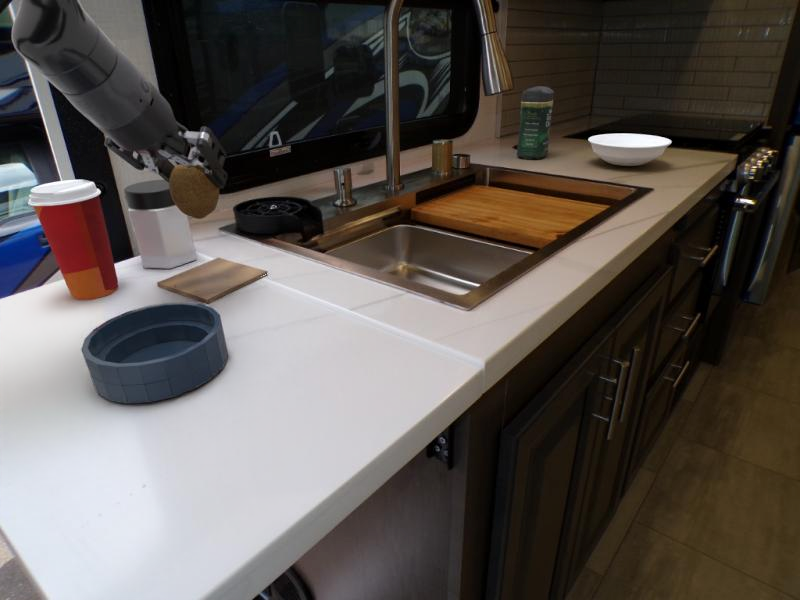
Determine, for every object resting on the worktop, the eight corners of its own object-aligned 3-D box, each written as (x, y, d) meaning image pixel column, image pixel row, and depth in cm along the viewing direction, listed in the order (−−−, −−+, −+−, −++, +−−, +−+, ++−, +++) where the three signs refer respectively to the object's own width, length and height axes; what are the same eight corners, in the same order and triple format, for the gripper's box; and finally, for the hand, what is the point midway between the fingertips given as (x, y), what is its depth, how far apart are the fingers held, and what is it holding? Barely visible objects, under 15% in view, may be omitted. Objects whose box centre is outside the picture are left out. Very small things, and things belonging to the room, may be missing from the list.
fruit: (166, 222, 70) (152, 162, 67) (197, 210, 76) (185, 153, 72) (203, 226, 68) (191, 164, 65) (233, 213, 73) (223, 155, 70)
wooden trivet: (157, 286, 75) (156, 282, 75) (218, 261, 83) (218, 257, 83) (207, 303, 70) (206, 299, 69) (268, 274, 78) (267, 270, 77)
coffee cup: (108, 274, 79) (79, 175, 73) (138, 286, 75) (110, 182, 68) (50, 295, 73) (11, 189, 67) (79, 309, 69) (41, 198, 62)
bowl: (608, 154, 149) (611, 131, 146) (680, 163, 136) (685, 138, 133) (570, 165, 137) (573, 140, 134) (645, 177, 124) (650, 149, 121)
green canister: (541, 161, 143) (547, 88, 135) (513, 158, 147) (518, 87, 139) (551, 154, 151) (558, 85, 142) (524, 152, 154) (529, 84, 146)
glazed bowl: (69, 379, 54) (55, 342, 52) (178, 325, 64) (170, 292, 62) (144, 422, 48) (132, 382, 46) (253, 355, 58) (247, 319, 56)
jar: (182, 246, 90) (166, 176, 84) (209, 256, 85) (194, 183, 80) (130, 262, 84) (110, 188, 78) (157, 274, 79) (137, 196, 74)
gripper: (49, 126, 56) (147, 204, 72) (166, 127, 53) (242, 208, 69) (72, 70, 59) (162, 157, 74) (186, 67, 55) (255, 159, 71)
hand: (200, 181), depth 71 cm, fingers closed on fruit, 6 cm apart
